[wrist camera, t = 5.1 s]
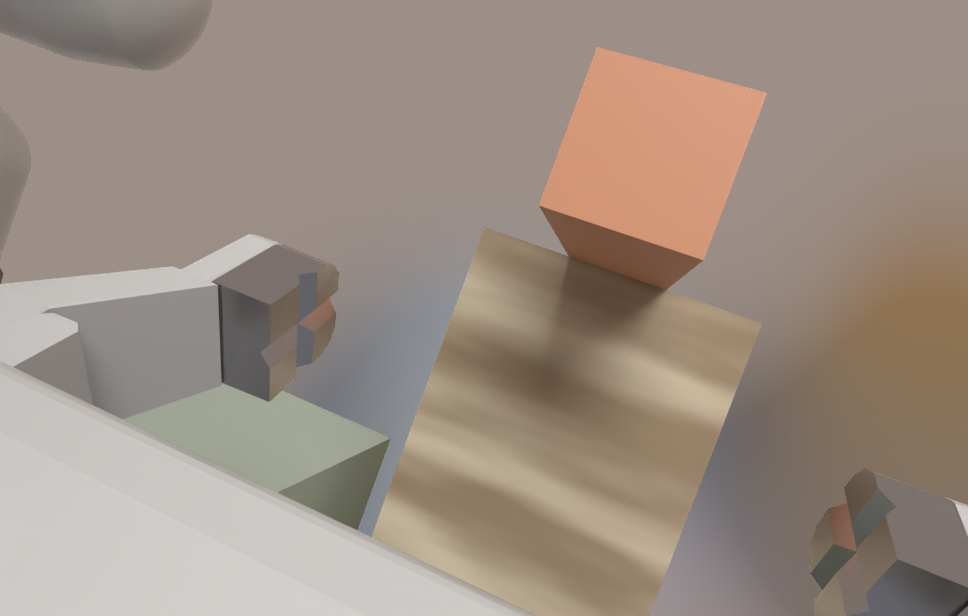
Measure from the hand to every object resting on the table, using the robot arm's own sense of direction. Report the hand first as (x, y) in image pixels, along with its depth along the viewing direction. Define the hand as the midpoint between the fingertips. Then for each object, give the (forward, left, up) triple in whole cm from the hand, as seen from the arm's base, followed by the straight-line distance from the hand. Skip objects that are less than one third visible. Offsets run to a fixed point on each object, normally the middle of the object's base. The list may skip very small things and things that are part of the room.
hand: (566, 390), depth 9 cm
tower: (-15, +14, -23) cm, 31 cm away
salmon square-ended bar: (-12, +11, +3) cm, 17 cm away
